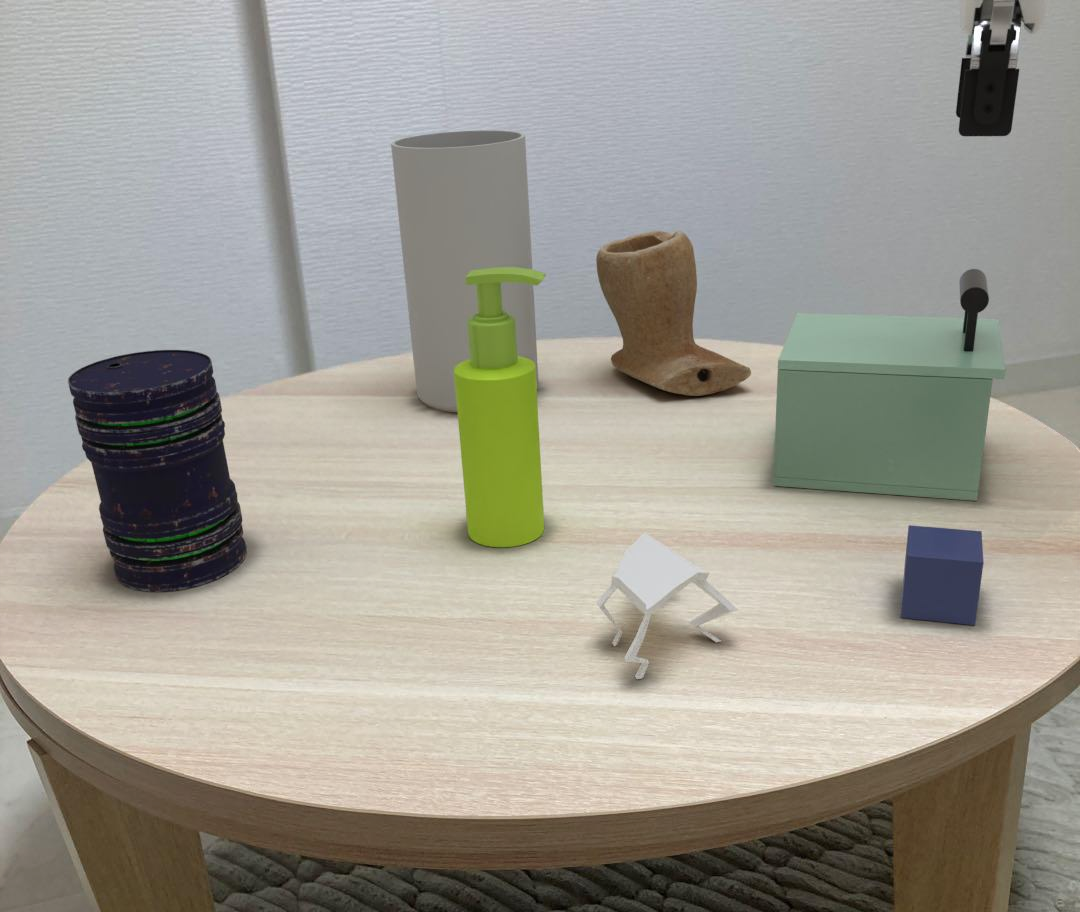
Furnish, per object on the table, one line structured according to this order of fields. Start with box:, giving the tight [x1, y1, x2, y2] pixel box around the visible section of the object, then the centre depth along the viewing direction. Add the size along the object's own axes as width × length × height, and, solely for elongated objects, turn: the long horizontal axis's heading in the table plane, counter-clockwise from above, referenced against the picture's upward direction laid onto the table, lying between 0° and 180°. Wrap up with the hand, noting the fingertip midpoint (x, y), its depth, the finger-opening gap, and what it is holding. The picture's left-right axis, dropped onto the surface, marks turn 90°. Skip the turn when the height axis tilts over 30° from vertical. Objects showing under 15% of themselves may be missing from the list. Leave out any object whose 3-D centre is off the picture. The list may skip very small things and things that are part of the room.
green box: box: [772, 368, 993, 502], centre depth 94 cm, size 16×14×10 cm
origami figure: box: [596, 531, 739, 680], centre depth 72 cm, size 12×8×5 cm
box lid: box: [777, 268, 1007, 380], centre depth 90 cm, size 16×14×6 cm
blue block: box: [900, 524, 984, 626], centre depth 73 cm, size 4×4×4 cm
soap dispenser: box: [454, 267, 547, 548], centre depth 83 cm, size 6×7×20 cm
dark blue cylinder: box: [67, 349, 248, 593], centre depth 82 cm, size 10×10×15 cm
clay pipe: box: [595, 230, 752, 397], centre depth 114 cm, size 15×12×15 cm
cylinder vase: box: [390, 129, 540, 413], centre depth 111 cm, size 12×12×25 cm
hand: (981, 125), depth 78 cm, fingers open, 9 cm apart
